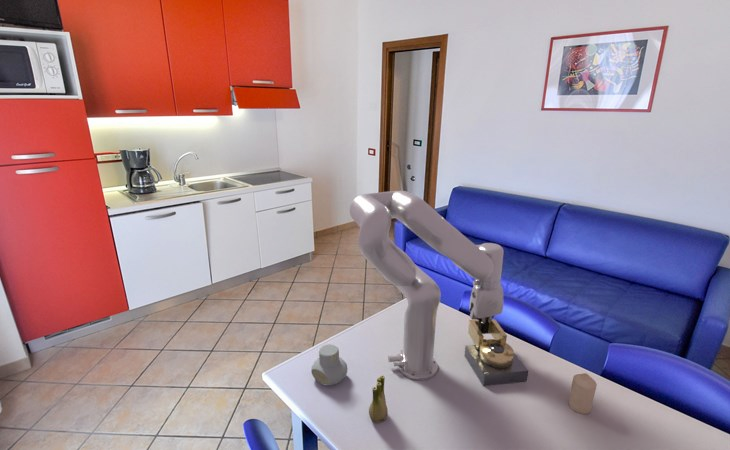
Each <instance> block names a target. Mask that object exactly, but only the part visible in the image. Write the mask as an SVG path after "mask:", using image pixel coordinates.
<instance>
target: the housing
mask: <svg viewBox="0 0 730 450" xmlns="http://www.w3.org/2000/svg"><path fill="white" fill-rule="evenodd" d="M464 349H465V350H464V358H465V359H466V361H467V362H468V364H469V366H470V367H471V369H472V370H473V372H474V374H475V375H476V377H477V379H478V381H479V382H480V383H481V385H482V387H486V386H487V387H488V386H489V387H490V386H497V385H505V384H515V383H516V384H517V383H525V382H528V377H529V369H528V368H527V366H526V365H525V364H524V363H523V362H522V360H521V359H520V358H519V357H518V356H517V354H516V353H515V352H514V356H513V362H512V364H511V365H510V366H508V367H505V368H497V367H493V366H490V365H488V364H486V363H485V362H483V361H482V360H481V358H480V356H479V350H478V349H477V347H476V346H475V344H472V345H465V348H464Z"/></svg>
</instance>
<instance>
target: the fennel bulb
mask: <svg viewBox="0 0 730 450" xmlns="http://www.w3.org/2000/svg"><path fill="white" fill-rule="evenodd" d="M371 390H372V401H371V403H370V405H369V407H368V414H369V415H368V416H369V418H370V419H371V421H372V423H380V422H384V421H385V420H386V419H387V417H388V406H387V401H386V395H385V376H384V375H380V376H379V377H378V378H376V386H372V389H371Z"/></svg>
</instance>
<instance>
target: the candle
mask: <svg viewBox="0 0 730 450" xmlns="http://www.w3.org/2000/svg"><path fill="white" fill-rule="evenodd" d="M597 384H598V383H597V382H596V381H595V379H594V378H593V377H592V376H590V375H589V373H586V372H583V373H577V374H574V375H573V377H572V382H571V386H570V390H569V395H568V400H567V401H568V402H567V404H568V407H569V408H571V410H573V411H574V412H576V413H578V414H582V415H586V414H589V413H590V412H591V411H592V408H593V407H592V406H593V402H594V398H595V394H596V389H597Z"/></svg>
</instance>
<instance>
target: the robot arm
mask: <svg viewBox="0 0 730 450" xmlns="http://www.w3.org/2000/svg"><path fill="white" fill-rule="evenodd" d="M349 215H350V217H351V219H352V220H353V221H354V222H355V223H356V224H357V225H358V226H359V232H358V236H357V237H358V239H357V240H358V242H357V243H358V249H359V251H360V253H361V255H362V256H363V257H364V259H366V261H368V263H370V264H371V265H372V266H373V267H374V268H375V269H376V270H377V271H378V273H379V274H380V275H381V276H382V277H383V278H384V279H385V280H386V281H387V282H388V283H390V284H392V285H393V286H394V287H395V288H396V289H397V290H399V292H400V293H401V294H402V295H403V296H404V298H405V299H406V300H407V307H406V310H405V313H404V319H403V321H404V322H403V343H402V344H403V347H402V350H400V353H398V354H397V355H388V356H387V360H388V361H387V362H388V363H393V367H397V368H398V370H399V371H400V373H401V374H402V375H404V376H405V377H407V378H409V379H412V380H416V381H425V380H428V379H431V378H433V377H434V376H435V375H436V374H437V372H438V369H439V368H438V366H439V365H438V362H437V360H436V359H435V358H434V353H435V351H434V350H435V338H436V324H437V323H436V322H437V314H438V310H439V309H438V308H439V305H440V303H441V297H442V294H441V289H440V287H439V285H438V284H437V283H436V281H435V280H434V279H433V278H432V277H431V276H430V275H428V274H427V273H426V272H425V271H423V270H422V269H421V268H420V267H419V266H418V265H417V264H415V262H414V261H413V260H412V259H411V257H410V256H409V255H408V254H407V253H406V252H405V251H403V249H402V248H400V247H399V246H397V245H396V243H394V242H393V240H392V239H391V238H390V235H389V233H390V231H391V230H390V229H391V224H392V219H396V220H397V221H399V222H400V223H402V224H403V225H404V226H405V227H406V228H407V229H409V230H410V232H412V233H414V234H415V235H416V236H418V238H420V239H421V240H422V241H423V242H425V243H426V244H427V245H429V247H430V248H432V249H433V250H435V251H436V252H438V253H439V254H441V255H443V256H444V257H446V258H447V259H449V260H450V261H451V262H452V263H453V264H454V265H455V266H456V267H457V268H458V269H460V270H461V271H463V272H464V273H465V274H467V275H469V276H470V277H471V278H472V279H474V280H473V281H472V285H473V287H472V290H471V293H470V299H469V312H470V314H469V318H470V320H479V325H478V328H479V330H480V331H481V332H482V333H483V335H486V334H487V333H488V330H489V323H490V322H491V321H492V319H494V317H495V316H498V315H500V314H502V313H503V311H504V290H503V285H502V284H501V280H502V272H503V261H504V252H505V251H504V248H503V247H502V246H501V245H500V244H498V243H493V242H484V243H482V244H475V243H474V242H472V240H470V239H469V238H468V237H466V235H464V234H463V233H462V232H461V231H459V229H457V227H455V226H453V225H452V224H451V223H450V222H449V221H448V220H446V219H445V218H444V217H443V216H442V215H440V214H439V212H437V211H436V209H434V208H433V207H432V206H431V205H429V204H428V203H427V202H426V201H425V200H424V199H422V198H421V197H419V196H417V195H415V194H413V193H411V192H409V191H407V190H391V191H382V192H372V193H363V194H360V195H358V196H356V197H355V198H353V200H352V201H351V203H350V205H349ZM485 333H486V334H485Z"/></svg>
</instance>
